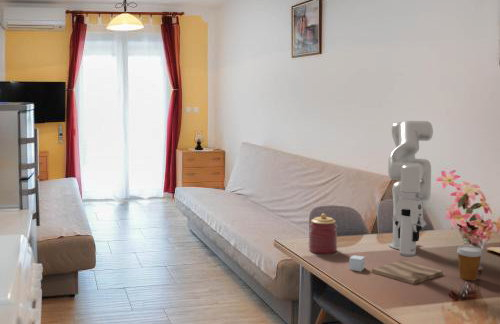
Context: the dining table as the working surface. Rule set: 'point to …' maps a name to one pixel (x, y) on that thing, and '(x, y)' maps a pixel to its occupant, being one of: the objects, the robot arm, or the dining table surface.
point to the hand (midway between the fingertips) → (408, 239)
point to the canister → (323, 235)
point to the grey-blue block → (356, 263)
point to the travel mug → (406, 235)
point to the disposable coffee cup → (469, 262)
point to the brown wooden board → (407, 272)
